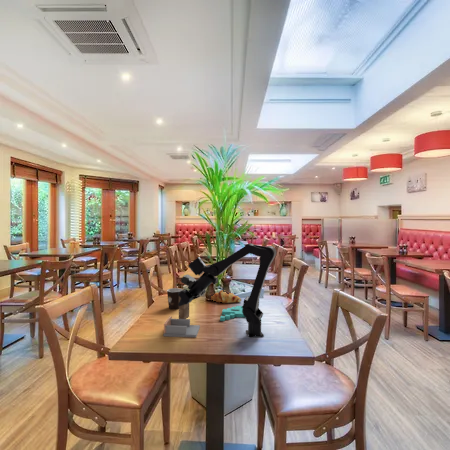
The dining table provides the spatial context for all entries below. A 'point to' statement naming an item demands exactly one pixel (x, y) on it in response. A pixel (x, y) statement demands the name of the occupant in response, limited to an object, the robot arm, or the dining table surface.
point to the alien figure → (231, 313)
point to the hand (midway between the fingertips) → (181, 303)
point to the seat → (180, 328)
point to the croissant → (225, 297)
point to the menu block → (183, 310)
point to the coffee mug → (173, 298)
